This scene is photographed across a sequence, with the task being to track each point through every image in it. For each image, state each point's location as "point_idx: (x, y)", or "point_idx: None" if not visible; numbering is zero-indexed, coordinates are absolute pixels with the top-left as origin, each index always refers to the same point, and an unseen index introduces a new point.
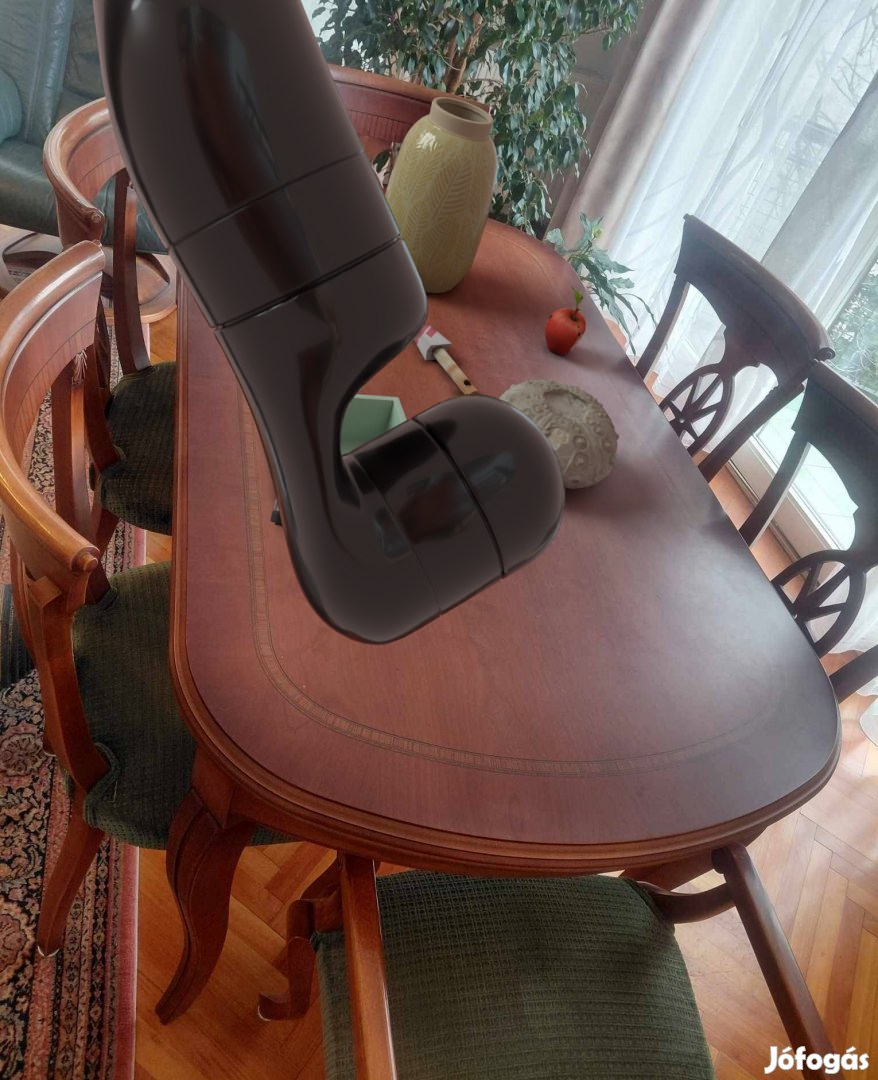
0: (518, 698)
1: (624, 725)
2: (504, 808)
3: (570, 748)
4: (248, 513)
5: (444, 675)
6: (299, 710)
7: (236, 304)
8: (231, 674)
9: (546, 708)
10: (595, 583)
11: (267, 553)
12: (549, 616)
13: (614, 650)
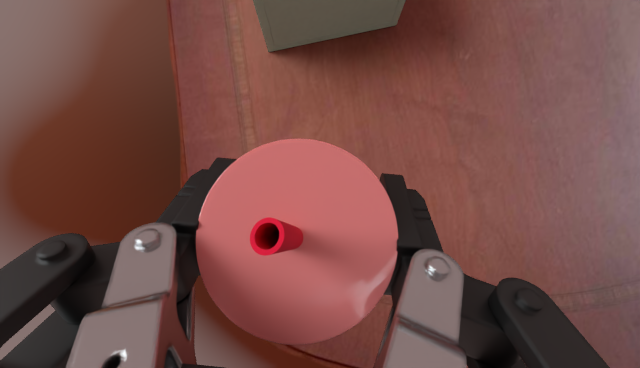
0: (510, 227)
1: (625, 244)
2: None
3: (564, 279)
4: (231, 48)
5: (433, 211)
6: None
7: None
8: None
9: (540, 235)
10: (603, 63)
11: (253, 94)
12: (547, 118)
13: (620, 150)
